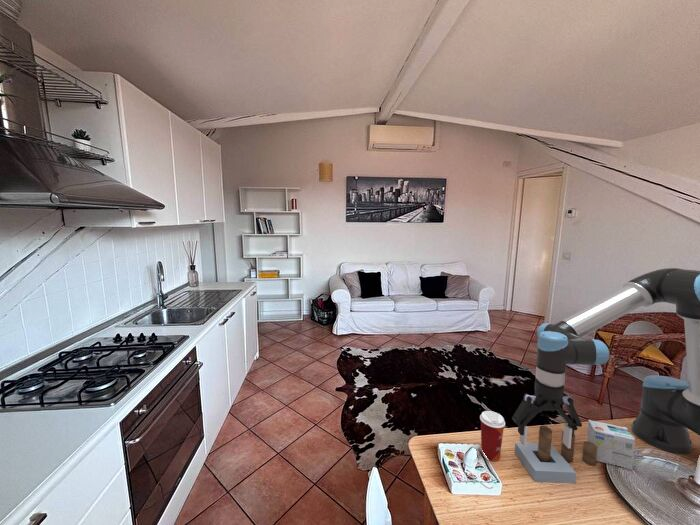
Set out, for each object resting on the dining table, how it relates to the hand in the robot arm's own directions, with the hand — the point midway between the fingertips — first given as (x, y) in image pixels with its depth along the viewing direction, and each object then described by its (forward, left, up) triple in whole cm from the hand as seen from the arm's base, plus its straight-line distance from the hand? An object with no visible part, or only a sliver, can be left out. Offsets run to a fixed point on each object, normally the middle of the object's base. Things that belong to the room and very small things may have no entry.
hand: (544, 444), depth 94 cm
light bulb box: (-24, -5, -8) cm, 26 cm away
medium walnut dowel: (-10, -4, -8) cm, 13 cm away
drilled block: (0, 0, -8) cm, 8 cm away
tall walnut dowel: (0, 0, -8) cm, 8 cm away
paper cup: (+15, -4, -8) cm, 17 cm away
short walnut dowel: (-17, -3, -8) cm, 18 cm away
